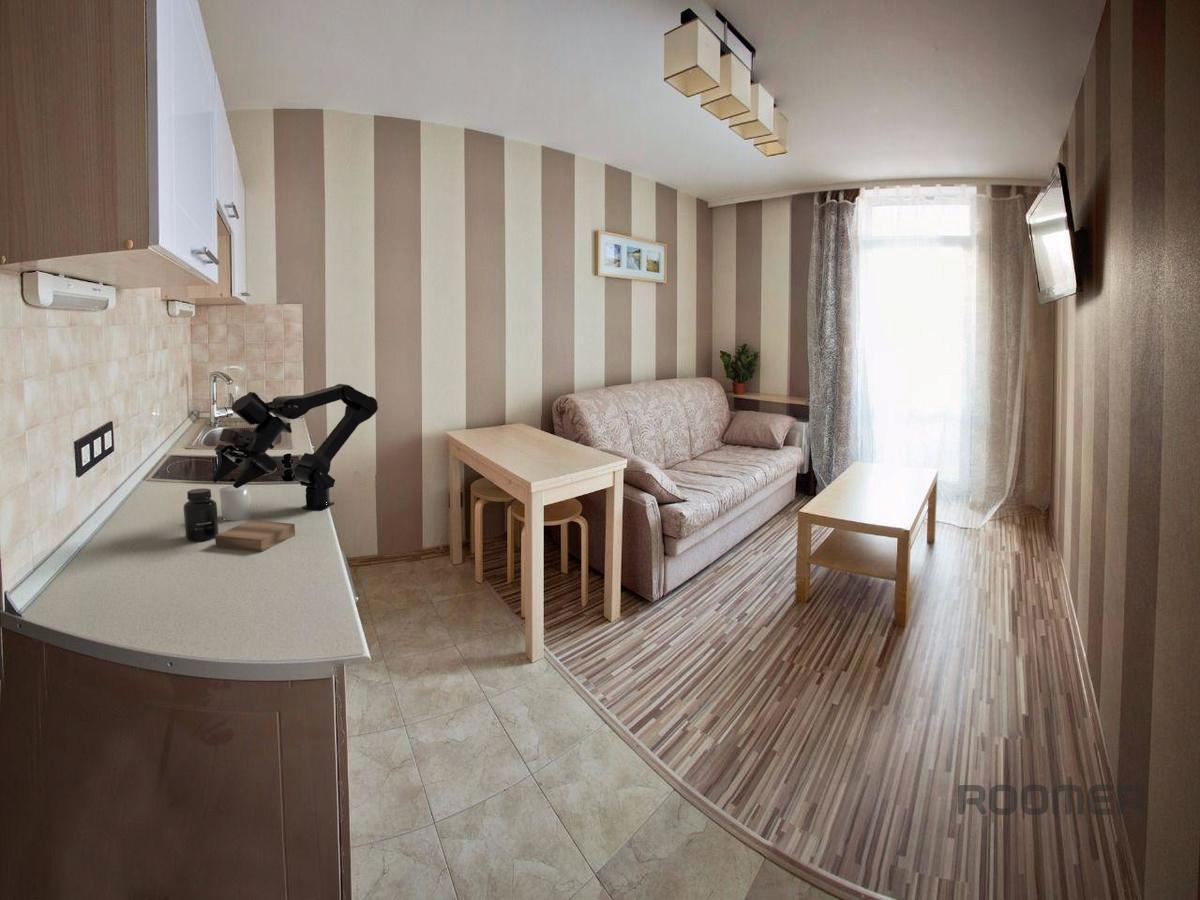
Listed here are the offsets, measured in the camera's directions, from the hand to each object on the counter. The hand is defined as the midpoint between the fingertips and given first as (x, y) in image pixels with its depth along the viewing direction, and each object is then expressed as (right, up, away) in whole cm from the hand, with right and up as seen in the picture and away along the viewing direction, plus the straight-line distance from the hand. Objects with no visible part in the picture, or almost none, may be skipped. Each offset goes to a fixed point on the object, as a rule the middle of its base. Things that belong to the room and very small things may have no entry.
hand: (224, 484), depth 149 cm
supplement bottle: (-3, -13, -3) cm, 14 cm away
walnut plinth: (+11, -14, -4) cm, 18 cm away
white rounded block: (-5, -10, +13) cm, 17 cm away
